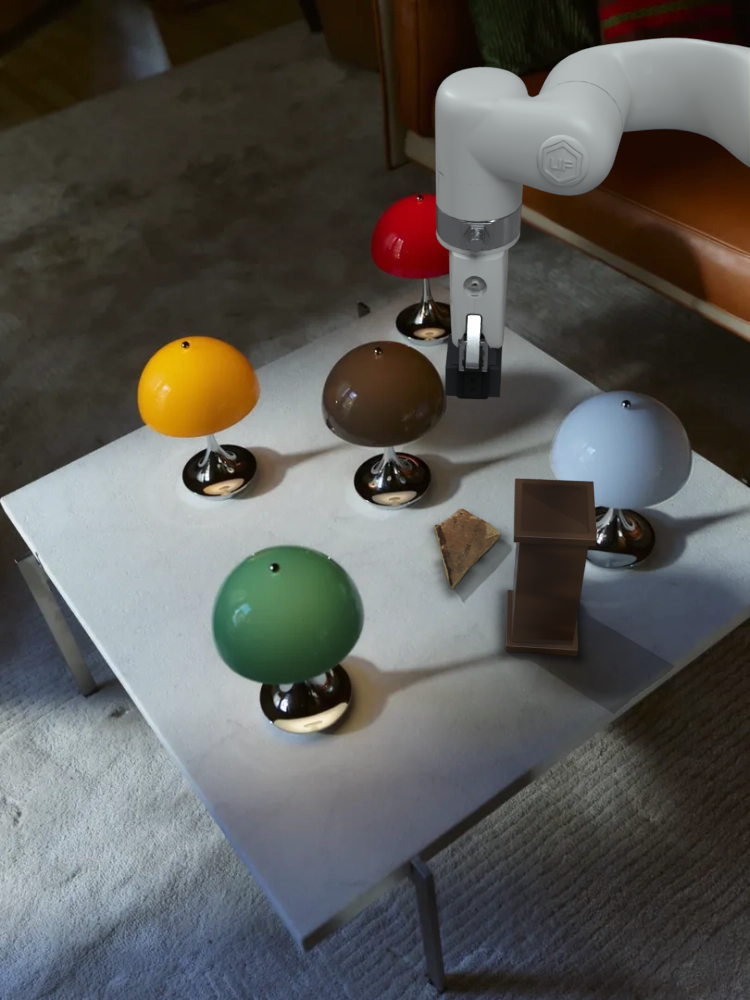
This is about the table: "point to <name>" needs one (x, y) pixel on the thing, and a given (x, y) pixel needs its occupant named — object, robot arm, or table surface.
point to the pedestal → (549, 564)
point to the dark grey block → (493, 356)
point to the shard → (463, 543)
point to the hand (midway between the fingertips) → (474, 375)
